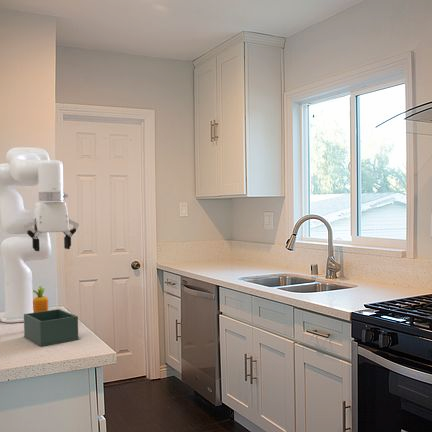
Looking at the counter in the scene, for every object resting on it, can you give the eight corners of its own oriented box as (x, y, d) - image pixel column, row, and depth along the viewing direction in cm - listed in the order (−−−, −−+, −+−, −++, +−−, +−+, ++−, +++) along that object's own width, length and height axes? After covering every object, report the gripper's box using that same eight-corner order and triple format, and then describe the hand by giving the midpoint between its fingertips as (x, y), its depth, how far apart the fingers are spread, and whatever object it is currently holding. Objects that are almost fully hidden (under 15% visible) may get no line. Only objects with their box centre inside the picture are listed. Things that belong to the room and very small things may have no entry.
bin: (24, 336, 179) (23, 314, 179) (60, 330, 187) (59, 309, 187) (40, 346, 167) (40, 322, 167) (78, 339, 175) (77, 316, 174)
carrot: (43, 330, 187) (41, 287, 187) (30, 330, 188) (29, 287, 188) (52, 327, 192) (50, 285, 192) (39, 326, 193) (38, 285, 193)
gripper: (73, 197, 185) (74, 247, 186) (19, 197, 174) (20, 250, 175) (82, 197, 180) (82, 248, 181) (26, 198, 168) (27, 252, 169)
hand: (52, 249), depth 178 cm, fingers open, 9 cm apart
